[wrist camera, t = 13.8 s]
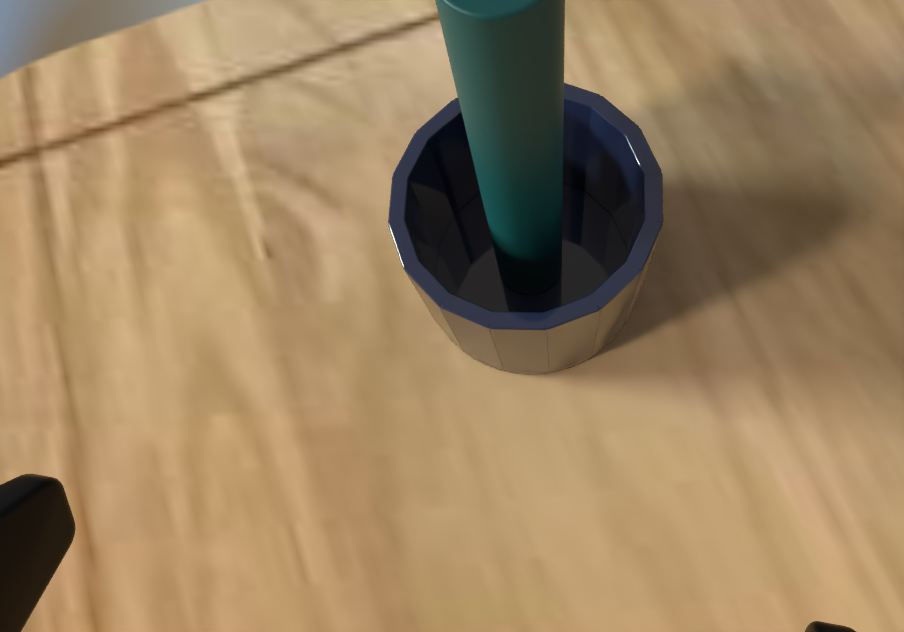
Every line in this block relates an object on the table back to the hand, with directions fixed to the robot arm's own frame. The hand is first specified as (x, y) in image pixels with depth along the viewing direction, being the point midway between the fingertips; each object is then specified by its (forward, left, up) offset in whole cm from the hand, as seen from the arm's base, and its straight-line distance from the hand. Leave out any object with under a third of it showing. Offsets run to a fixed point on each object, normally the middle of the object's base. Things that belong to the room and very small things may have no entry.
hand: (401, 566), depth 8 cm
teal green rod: (+8, -1, -13) cm, 15 cm away
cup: (+8, -1, -13) cm, 16 cm away
